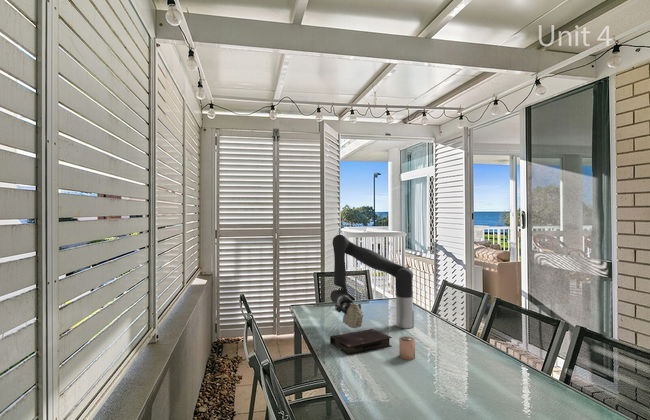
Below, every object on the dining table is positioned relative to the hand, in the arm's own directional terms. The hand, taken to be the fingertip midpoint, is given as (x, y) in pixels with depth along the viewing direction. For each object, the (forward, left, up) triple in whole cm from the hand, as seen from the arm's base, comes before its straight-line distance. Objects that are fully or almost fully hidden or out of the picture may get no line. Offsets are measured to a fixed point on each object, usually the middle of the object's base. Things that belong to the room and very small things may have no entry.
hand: (351, 311), depth 185 cm
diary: (-4, +2, -17) cm, 17 cm away
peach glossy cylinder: (-21, +20, -16) cm, 33 cm away
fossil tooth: (0, +1, -7) cm, 7 cm away
